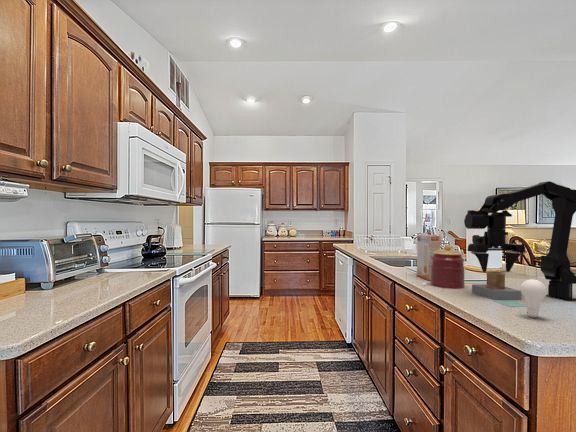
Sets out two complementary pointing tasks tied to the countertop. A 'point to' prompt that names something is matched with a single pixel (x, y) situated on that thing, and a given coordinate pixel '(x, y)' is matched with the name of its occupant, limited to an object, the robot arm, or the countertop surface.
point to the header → (496, 292)
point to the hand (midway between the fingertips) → (496, 271)
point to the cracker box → (426, 254)
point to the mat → (511, 303)
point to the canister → (447, 268)
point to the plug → (495, 280)
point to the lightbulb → (533, 295)
